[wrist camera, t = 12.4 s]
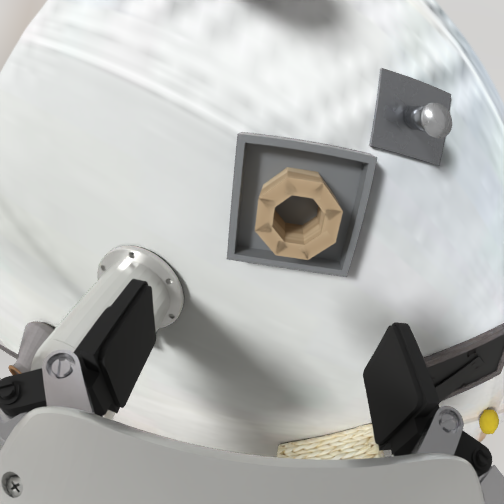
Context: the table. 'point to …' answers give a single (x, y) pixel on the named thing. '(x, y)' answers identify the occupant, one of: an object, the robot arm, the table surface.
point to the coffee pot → (29, 346)
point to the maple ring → (293, 235)
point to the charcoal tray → (297, 198)
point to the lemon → (489, 421)
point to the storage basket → (335, 446)
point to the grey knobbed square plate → (410, 117)
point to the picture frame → (467, 363)
